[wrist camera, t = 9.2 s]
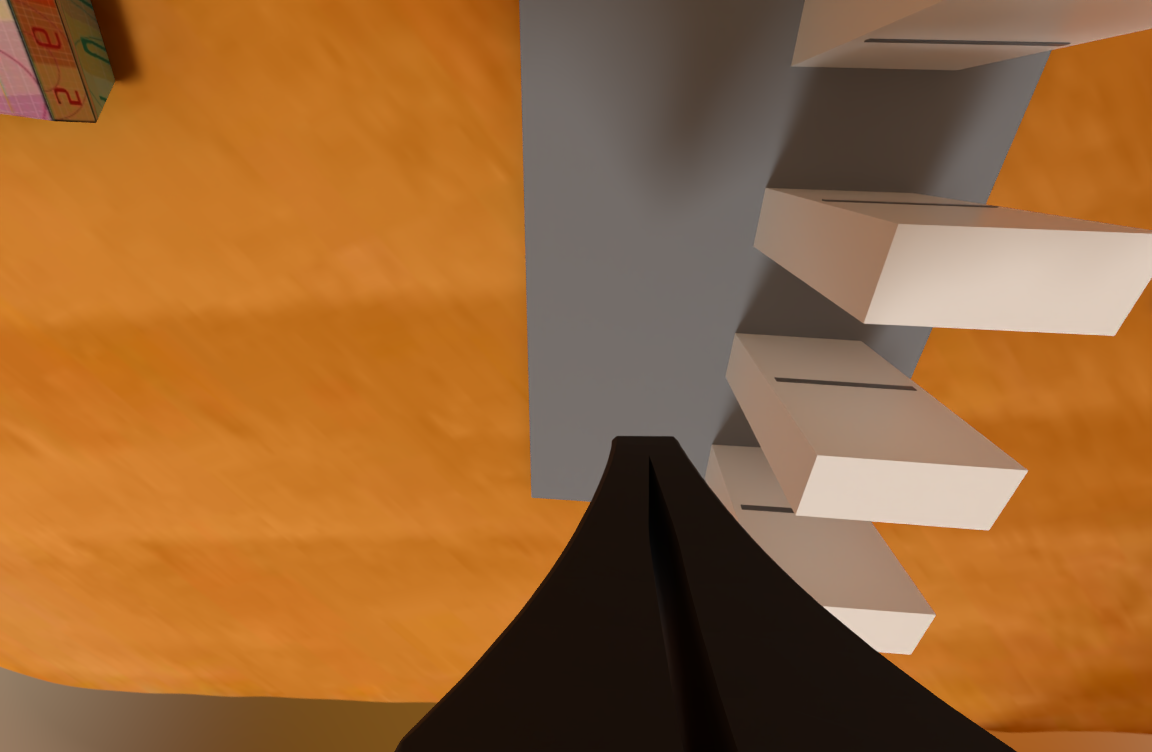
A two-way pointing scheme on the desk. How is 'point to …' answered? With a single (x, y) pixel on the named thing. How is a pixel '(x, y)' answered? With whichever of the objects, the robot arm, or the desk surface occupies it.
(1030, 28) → the domino
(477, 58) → the desk surface
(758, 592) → the robot arm
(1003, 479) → the domino
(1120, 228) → the domino
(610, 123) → the mat
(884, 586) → the domino
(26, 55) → the puzzle game
